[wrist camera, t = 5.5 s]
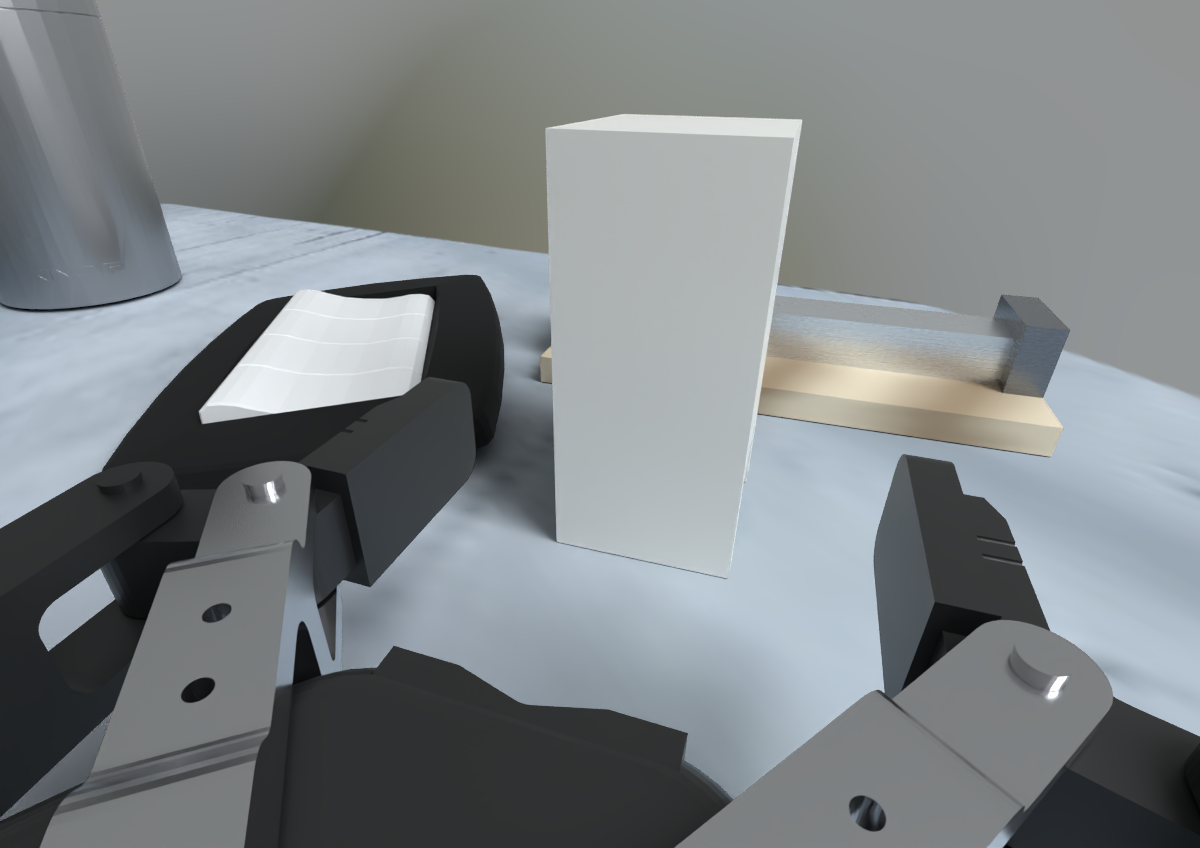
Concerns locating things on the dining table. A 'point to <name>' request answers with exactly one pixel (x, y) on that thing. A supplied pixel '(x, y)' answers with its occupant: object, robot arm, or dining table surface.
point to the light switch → (319, 374)
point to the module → (661, 325)
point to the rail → (925, 340)
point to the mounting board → (901, 405)
